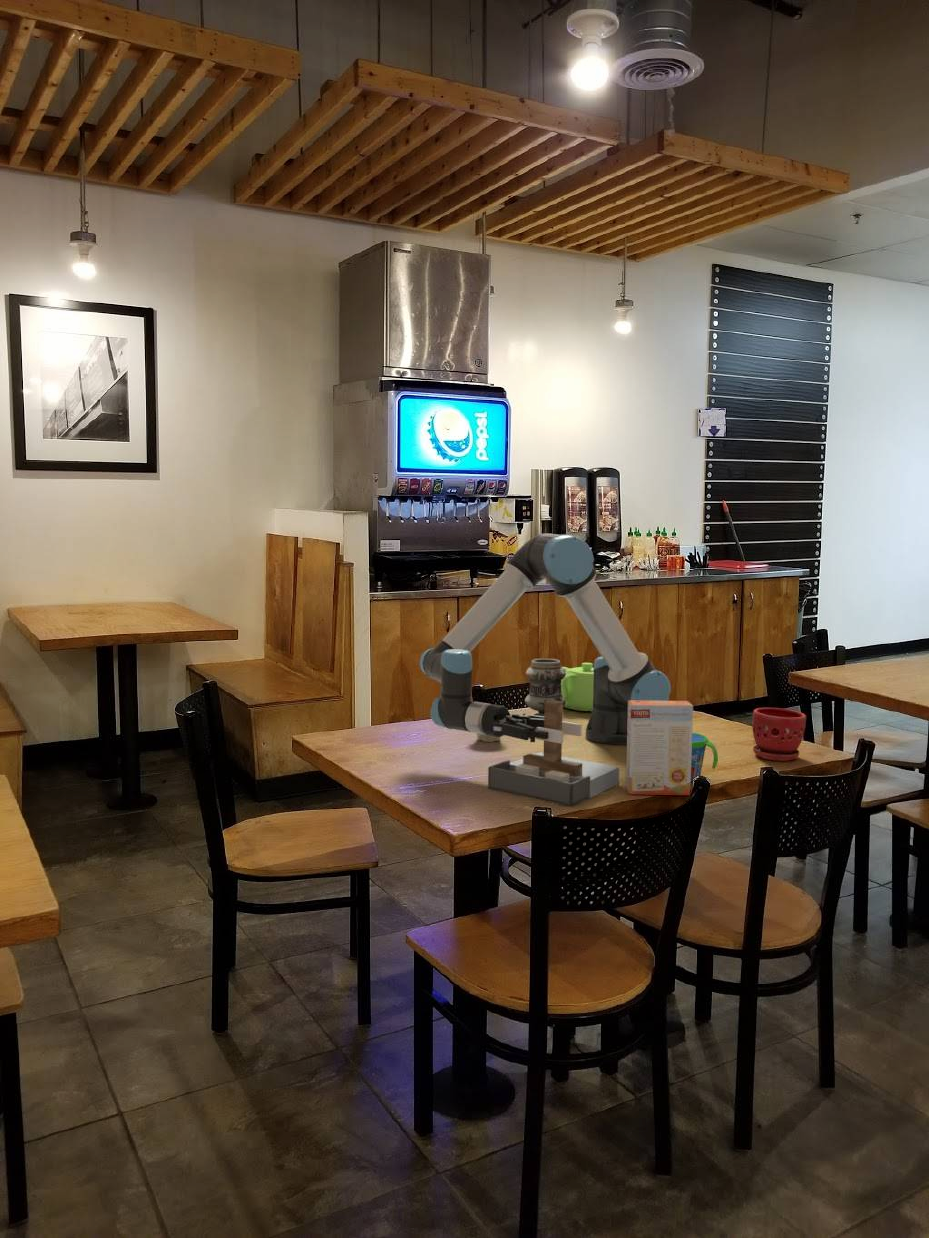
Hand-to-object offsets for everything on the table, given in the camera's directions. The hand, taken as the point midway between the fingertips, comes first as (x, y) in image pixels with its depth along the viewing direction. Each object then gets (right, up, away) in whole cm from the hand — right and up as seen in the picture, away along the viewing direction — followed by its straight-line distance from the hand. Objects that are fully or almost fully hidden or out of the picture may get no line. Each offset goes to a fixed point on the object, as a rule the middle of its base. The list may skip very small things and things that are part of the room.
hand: (571, 733), depth 227 cm
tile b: (-3, -11, -1) cm, 11 cm away
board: (-1, -12, +9) cm, 15 cm away
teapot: (+16, -2, +92) cm, 93 cm away
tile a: (-9, -10, +4) cm, 14 cm away
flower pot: (-17, -7, +49) cm, 52 cm away
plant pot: (+57, -10, +34) cm, 67 cm away
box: (-8, -13, 0) cm, 15 cm away
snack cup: (+28, -12, +13) cm, 33 cm away
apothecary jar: (0, -4, +74) cm, 74 cm away
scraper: (-4, -9, +4) cm, 10 cm away
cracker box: (+20, -14, +2) cm, 24 cm away
